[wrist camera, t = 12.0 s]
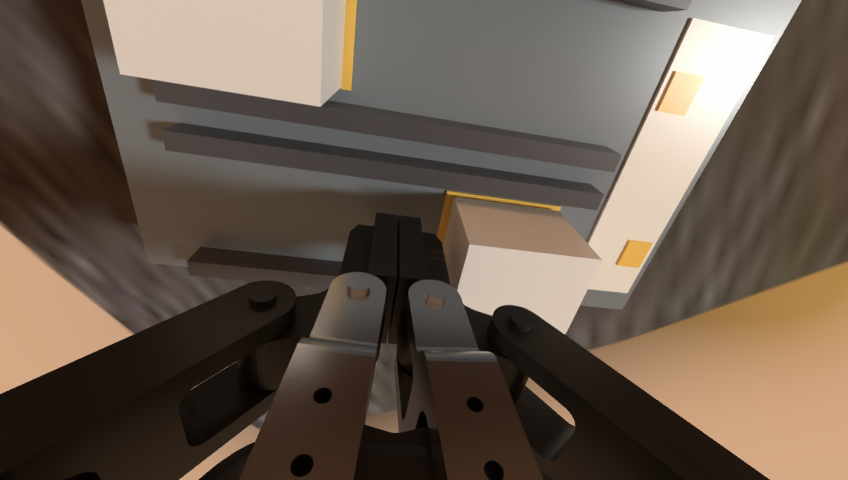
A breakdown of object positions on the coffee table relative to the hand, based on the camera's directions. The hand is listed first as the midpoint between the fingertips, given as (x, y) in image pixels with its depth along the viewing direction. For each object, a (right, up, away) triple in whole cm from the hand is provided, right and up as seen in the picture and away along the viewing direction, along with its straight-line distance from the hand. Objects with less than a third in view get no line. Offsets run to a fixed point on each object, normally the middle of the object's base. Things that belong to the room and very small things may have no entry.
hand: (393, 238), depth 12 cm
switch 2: (+4, 0, +2) cm, 4 cm away
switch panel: (+1, +5, +3) cm, 5 cm away
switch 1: (-3, +6, -2) cm, 7 cm away
